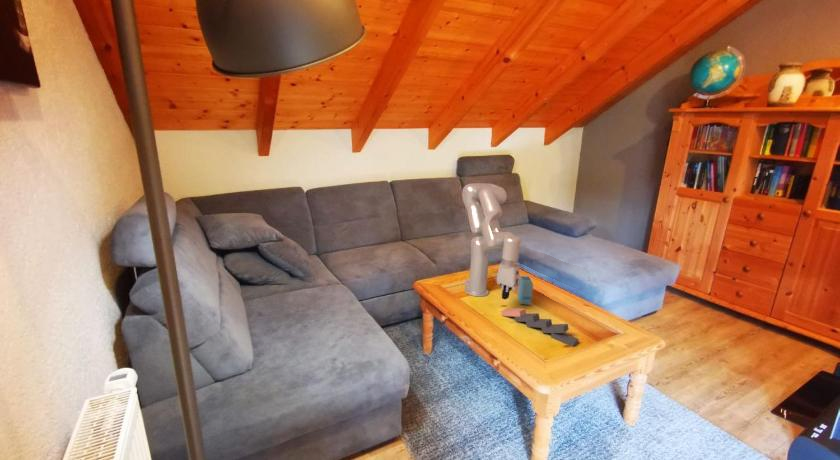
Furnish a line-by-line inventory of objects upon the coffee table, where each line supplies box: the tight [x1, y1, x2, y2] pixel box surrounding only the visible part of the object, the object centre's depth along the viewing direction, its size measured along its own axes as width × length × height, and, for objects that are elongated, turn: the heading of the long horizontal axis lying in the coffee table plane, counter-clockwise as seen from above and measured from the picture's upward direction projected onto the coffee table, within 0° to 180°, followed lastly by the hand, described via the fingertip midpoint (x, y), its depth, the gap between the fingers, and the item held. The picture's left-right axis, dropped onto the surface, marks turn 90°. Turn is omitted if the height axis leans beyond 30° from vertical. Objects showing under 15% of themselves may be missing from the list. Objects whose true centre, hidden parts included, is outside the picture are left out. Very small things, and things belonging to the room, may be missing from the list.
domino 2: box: [513, 312, 541, 323], centre depth 185 cm, size 2×5×10 cm
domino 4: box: [541, 323, 570, 334], centre depth 176 cm, size 2×5×10 cm
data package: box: [517, 275, 534, 306], centre depth 210 cm, size 12×4×12 cm, turn 177°
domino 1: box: [501, 307, 527, 317], centre depth 190 cm, size 2×5×10 cm
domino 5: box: [550, 332, 579, 348], centre depth 173 cm, size 2×5×10 cm
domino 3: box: [525, 318, 553, 329], centre depth 181 cm, size 2×5×10 cm
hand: (505, 298), depth 192 cm, fingers closed
